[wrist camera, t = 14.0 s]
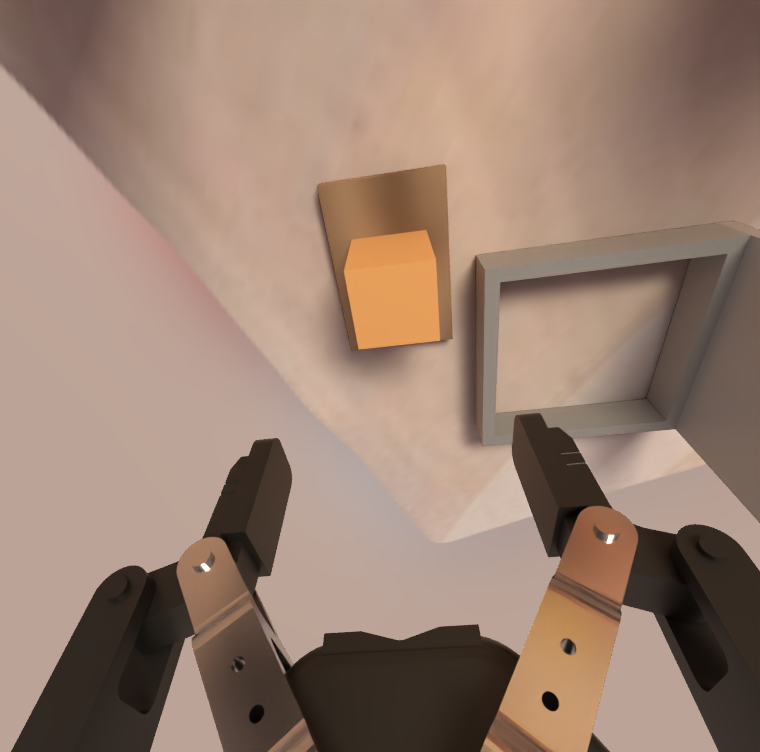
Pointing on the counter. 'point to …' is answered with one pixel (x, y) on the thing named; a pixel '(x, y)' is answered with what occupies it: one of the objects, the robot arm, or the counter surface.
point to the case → (679, 353)
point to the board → (389, 224)
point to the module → (393, 290)
